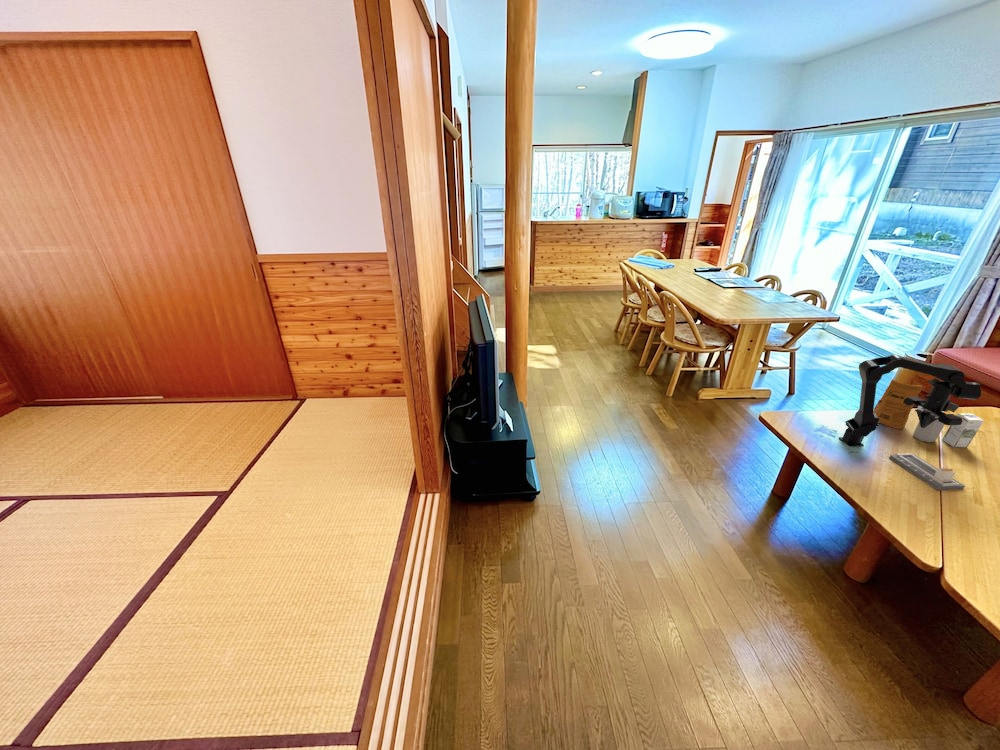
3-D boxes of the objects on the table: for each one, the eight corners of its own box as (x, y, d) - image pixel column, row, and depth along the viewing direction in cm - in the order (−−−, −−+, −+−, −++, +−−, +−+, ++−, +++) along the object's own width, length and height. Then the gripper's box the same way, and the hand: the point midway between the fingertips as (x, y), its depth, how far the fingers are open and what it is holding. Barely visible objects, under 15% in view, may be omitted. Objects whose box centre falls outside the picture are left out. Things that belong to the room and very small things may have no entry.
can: (939, 444, 176) (952, 421, 171) (919, 442, 178) (931, 420, 172) (927, 434, 183) (938, 412, 178) (908, 433, 184) (919, 411, 179)
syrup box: (955, 440, 178) (971, 412, 172) (968, 448, 173) (984, 420, 167) (941, 439, 179) (956, 412, 172) (953, 447, 174) (969, 419, 167)
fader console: (937, 490, 151) (940, 485, 150) (889, 457, 169) (891, 453, 168) (963, 489, 151) (966, 484, 150) (912, 456, 169) (914, 452, 168)
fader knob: (940, 482, 152) (946, 472, 150) (932, 477, 155) (938, 467, 153) (950, 481, 152) (956, 471, 150) (942, 476, 155) (948, 466, 153)
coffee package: (872, 413, 200) (889, 374, 190) (905, 423, 191) (925, 383, 182) (868, 421, 194) (885, 381, 185) (902, 431, 186) (922, 390, 176)
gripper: (984, 406, 152) (965, 439, 159) (934, 384, 169) (919, 415, 176) (956, 407, 152) (938, 440, 159) (909, 385, 169) (894, 416, 176)
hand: (922, 427), depth 167 cm, fingers closed
